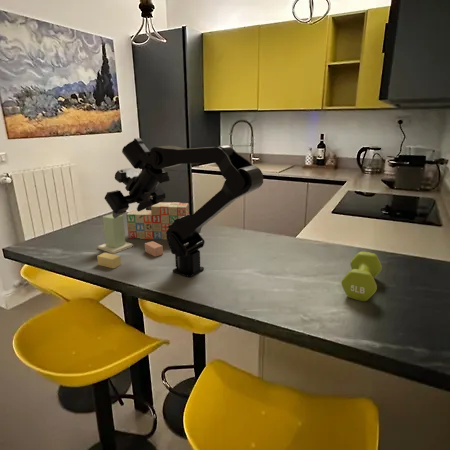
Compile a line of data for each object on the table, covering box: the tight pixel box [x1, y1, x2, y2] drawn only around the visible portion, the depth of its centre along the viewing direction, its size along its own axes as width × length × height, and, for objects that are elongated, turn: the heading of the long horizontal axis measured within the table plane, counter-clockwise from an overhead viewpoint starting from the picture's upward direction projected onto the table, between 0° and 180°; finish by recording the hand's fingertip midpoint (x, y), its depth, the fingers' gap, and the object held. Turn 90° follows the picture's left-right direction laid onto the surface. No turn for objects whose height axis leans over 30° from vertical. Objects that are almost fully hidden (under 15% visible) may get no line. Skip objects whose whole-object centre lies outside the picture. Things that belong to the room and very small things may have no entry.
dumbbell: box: [340, 251, 383, 302], centre depth 85 cm, size 16×8×7 cm, turn 151°
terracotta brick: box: [144, 240, 164, 257], centre depth 108 cm, size 6×3×3 cm, turn 43°
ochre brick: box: [96, 252, 122, 269], centre depth 99 cm, size 6×3×3 cm, turn 65°
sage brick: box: [102, 213, 127, 248], centre depth 111 cm, size 4×4×10 cm
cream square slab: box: [97, 241, 134, 255], centre depth 113 cm, size 8×8×2 cm
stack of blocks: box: [126, 201, 190, 240], centre depth 121 cm, size 21×6×12 cm, turn 86°
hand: (126, 213), depth 104 cm, fingers open, 9 cm apart
